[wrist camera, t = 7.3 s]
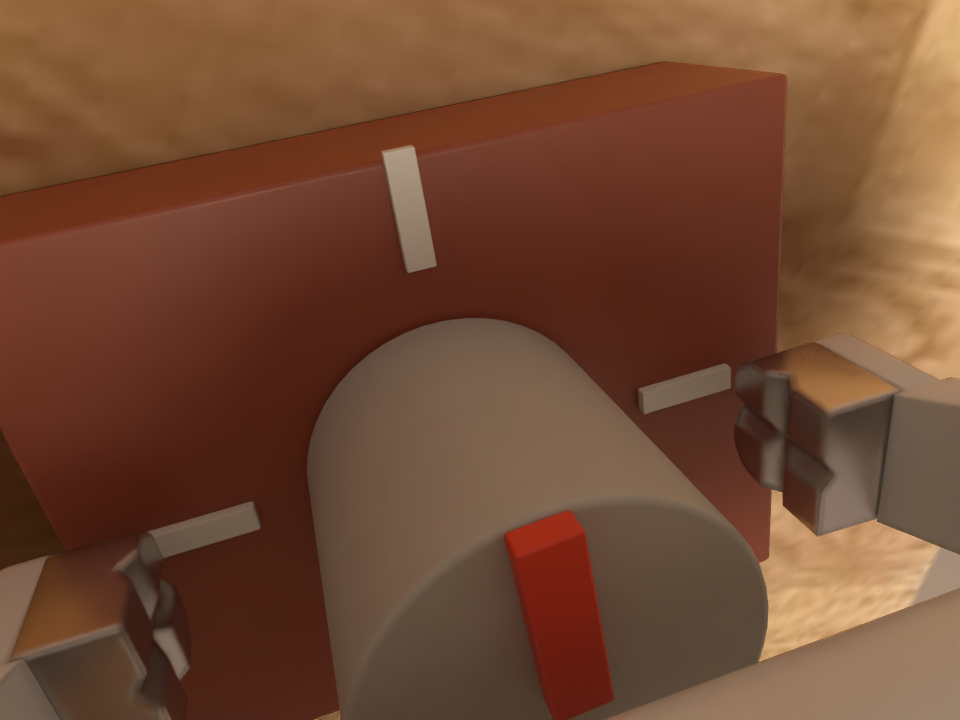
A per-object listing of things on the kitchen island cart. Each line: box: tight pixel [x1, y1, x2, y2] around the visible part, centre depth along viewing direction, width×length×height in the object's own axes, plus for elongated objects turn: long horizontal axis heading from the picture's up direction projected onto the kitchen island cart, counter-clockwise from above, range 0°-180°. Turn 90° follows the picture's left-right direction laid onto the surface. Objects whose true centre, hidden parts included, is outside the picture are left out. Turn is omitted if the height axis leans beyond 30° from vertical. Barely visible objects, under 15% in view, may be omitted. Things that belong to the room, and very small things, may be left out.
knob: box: [307, 318, 768, 720], centre depth 8 cm, size 4×4×4 cm
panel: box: [0, 61, 787, 720], centre depth 11 cm, size 10×8×3 cm
